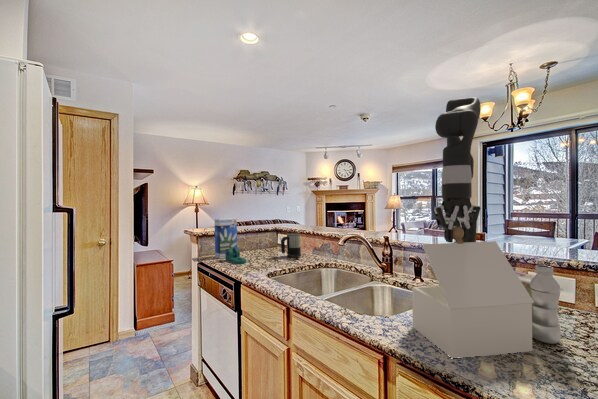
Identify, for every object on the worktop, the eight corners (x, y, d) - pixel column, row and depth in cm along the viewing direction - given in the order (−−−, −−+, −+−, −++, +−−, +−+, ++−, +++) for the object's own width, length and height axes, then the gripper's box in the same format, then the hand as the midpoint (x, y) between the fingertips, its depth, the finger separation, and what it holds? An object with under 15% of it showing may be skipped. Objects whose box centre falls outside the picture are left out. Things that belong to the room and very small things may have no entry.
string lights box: (219, 259, 193) (218, 219, 193) (214, 257, 199) (213, 219, 199) (237, 256, 202) (237, 218, 201) (232, 254, 207) (231, 217, 207)
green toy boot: (225, 260, 190) (225, 248, 189) (235, 258, 194) (235, 246, 194) (238, 265, 175) (237, 251, 175) (248, 263, 179) (248, 250, 179)
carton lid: (414, 232, 86) (420, 224, 83) (483, 229, 90) (491, 222, 87) (448, 311, 71) (457, 304, 68) (530, 304, 75) (541, 298, 72)
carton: (412, 327, 89) (412, 287, 89) (478, 321, 92) (478, 283, 92) (451, 359, 71) (451, 309, 71) (532, 351, 74) (531, 303, 74)
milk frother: (295, 254, 205) (295, 232, 205) (310, 257, 193) (310, 234, 193) (278, 257, 196) (278, 234, 196) (293, 260, 184) (293, 237, 184)
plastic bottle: (545, 334, 83) (544, 263, 82) (568, 347, 76) (567, 269, 76) (523, 335, 82) (522, 263, 82) (543, 347, 76) (543, 269, 76)
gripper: (469, 182, 89) (469, 238, 90) (425, 182, 87) (426, 240, 88) (488, 181, 82) (488, 243, 82) (441, 182, 80) (441, 245, 80)
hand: (456, 241), depth 85 cm, fingers closed on carton lid, 4 cm apart
